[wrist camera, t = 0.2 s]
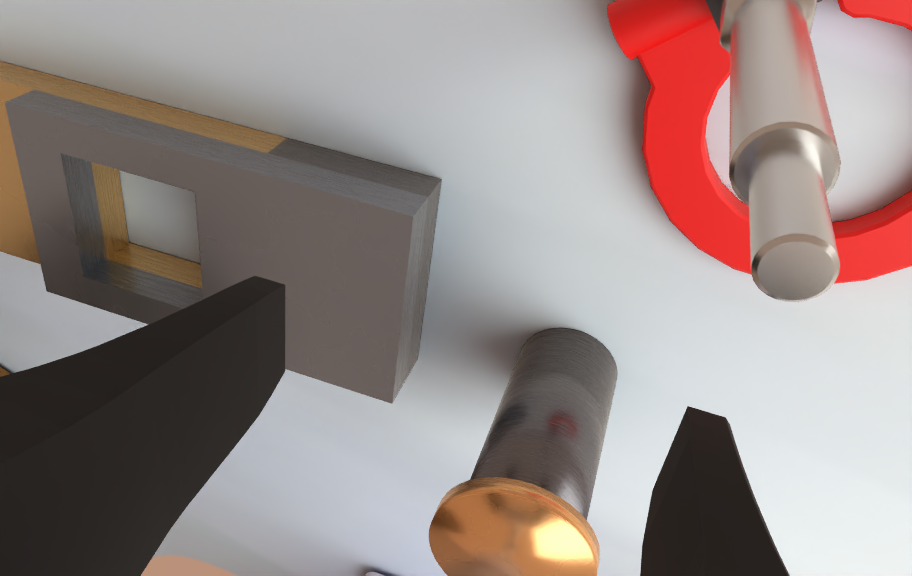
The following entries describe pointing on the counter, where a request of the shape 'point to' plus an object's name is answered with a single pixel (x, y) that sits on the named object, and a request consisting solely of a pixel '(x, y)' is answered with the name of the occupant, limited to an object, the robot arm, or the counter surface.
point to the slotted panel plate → (220, 223)
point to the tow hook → (756, 140)
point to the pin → (534, 468)
